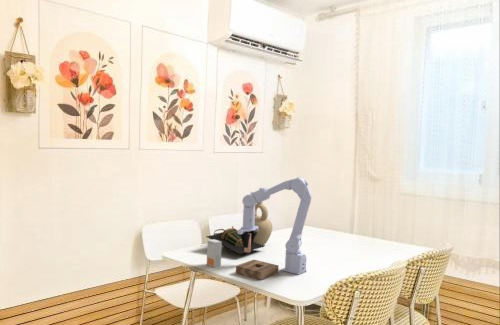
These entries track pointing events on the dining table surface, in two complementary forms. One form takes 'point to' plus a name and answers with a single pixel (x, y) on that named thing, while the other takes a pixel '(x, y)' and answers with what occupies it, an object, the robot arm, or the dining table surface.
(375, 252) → the dining table surface
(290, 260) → the robot arm
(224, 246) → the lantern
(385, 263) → the dining table surface
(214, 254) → the skincare box
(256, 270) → the socket block
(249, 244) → the peg
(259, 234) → the vase
